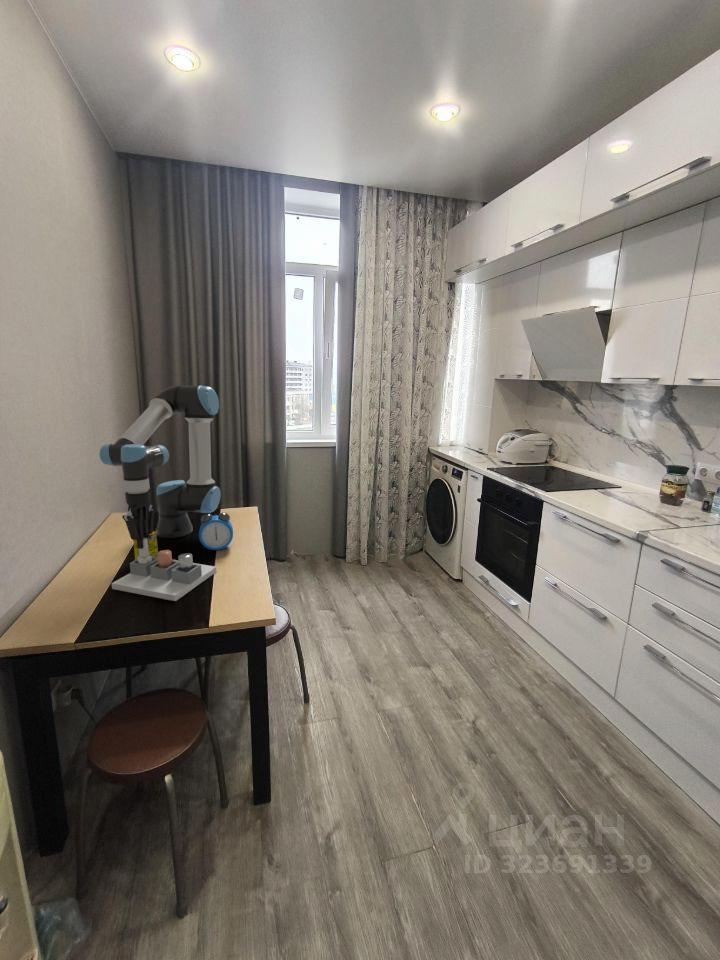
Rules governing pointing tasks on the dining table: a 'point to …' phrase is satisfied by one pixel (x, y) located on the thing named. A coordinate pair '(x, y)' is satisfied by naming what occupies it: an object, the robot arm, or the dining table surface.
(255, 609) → the dining table surface
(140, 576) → the button board
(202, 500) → the robot arm
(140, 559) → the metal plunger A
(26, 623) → the dining table surface
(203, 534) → the alarm clock
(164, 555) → the brown egg
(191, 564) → the silver egg
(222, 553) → the dining table surface
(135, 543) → the supplement box
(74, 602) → the dining table surface
